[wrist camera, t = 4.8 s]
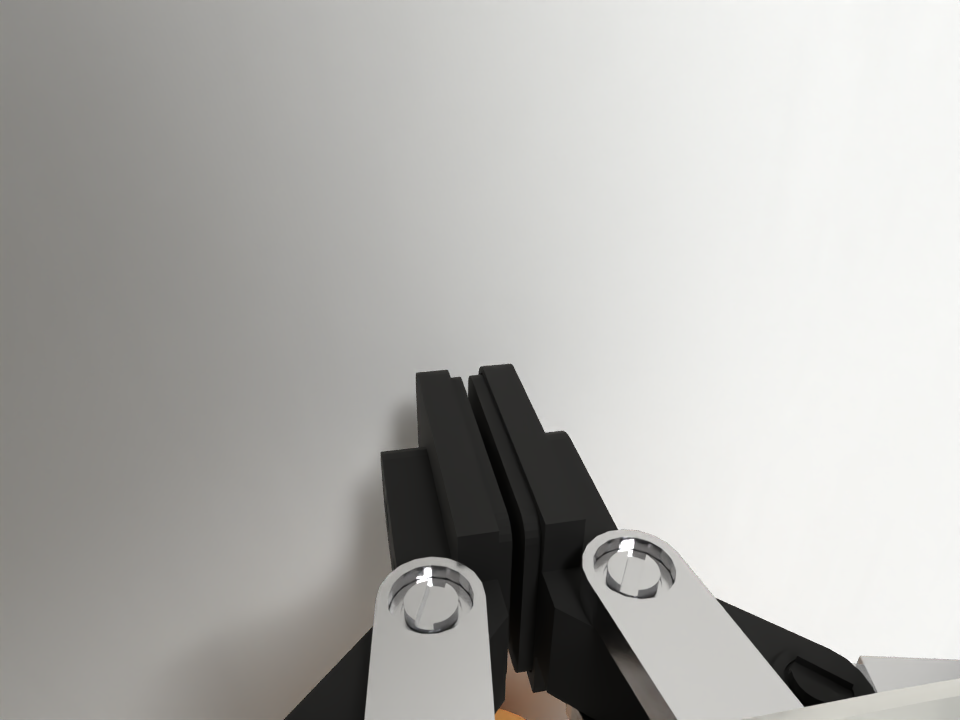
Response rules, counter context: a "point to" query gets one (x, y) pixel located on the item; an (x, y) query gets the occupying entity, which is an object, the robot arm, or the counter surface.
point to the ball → (507, 715)
